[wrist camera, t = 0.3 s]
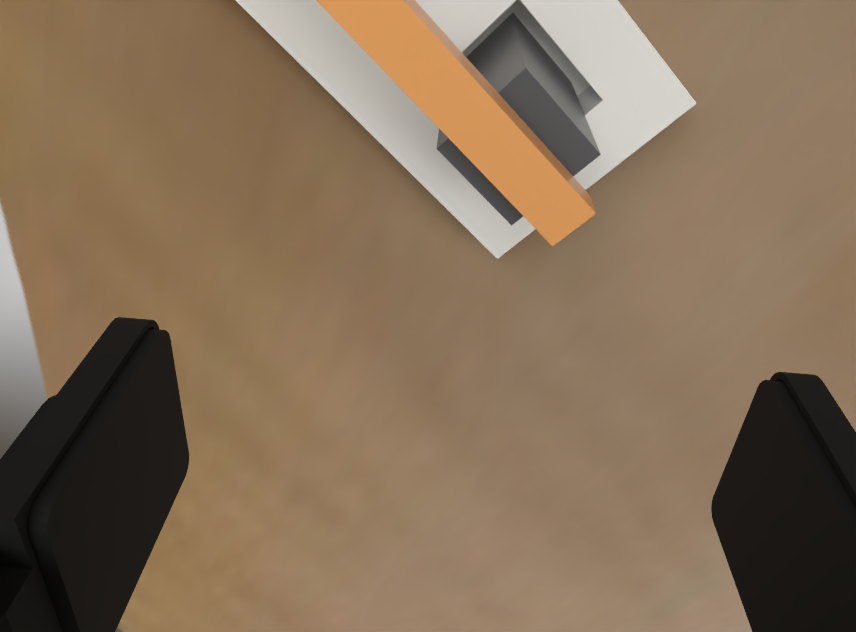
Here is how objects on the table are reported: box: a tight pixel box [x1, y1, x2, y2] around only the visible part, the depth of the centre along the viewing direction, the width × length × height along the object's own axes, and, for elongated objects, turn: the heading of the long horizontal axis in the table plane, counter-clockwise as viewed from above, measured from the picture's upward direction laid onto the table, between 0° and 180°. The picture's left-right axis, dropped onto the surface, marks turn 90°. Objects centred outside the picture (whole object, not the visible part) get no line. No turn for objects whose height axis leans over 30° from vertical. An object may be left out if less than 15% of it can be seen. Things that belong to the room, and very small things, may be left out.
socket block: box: [236, 0, 696, 259], centre depth 33 cm, size 12×22×4 cm, turn 44°
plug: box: [436, 13, 601, 226], centre depth 32 cm, size 4×4×10 cm
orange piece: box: [316, 0, 596, 246], centre depth 27 cm, size 17×2×9 cm, turn 44°
